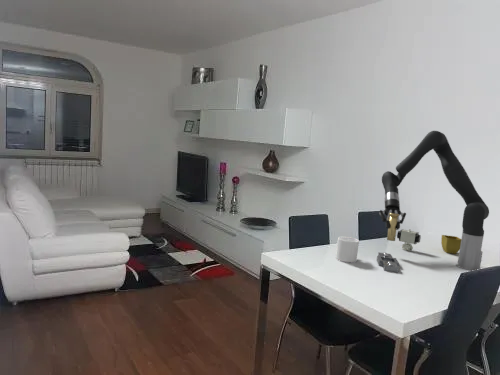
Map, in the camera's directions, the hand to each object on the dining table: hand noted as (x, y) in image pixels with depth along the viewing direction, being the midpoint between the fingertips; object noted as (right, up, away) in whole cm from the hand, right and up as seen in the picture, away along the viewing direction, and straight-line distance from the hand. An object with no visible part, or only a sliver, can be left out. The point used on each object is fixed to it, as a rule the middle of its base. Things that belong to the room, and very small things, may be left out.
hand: (393, 228), depth 202 cm
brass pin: (0, -6, +3) cm, 7 cm away
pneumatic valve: (+15, -15, +20) cm, 29 cm away
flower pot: (+41, -17, +23) cm, 50 cm away
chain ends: (-7, -16, -12) cm, 22 cm away
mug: (-26, -14, -10) cm, 31 cm away
